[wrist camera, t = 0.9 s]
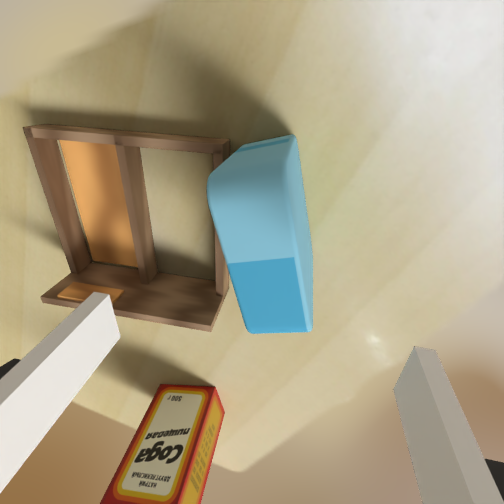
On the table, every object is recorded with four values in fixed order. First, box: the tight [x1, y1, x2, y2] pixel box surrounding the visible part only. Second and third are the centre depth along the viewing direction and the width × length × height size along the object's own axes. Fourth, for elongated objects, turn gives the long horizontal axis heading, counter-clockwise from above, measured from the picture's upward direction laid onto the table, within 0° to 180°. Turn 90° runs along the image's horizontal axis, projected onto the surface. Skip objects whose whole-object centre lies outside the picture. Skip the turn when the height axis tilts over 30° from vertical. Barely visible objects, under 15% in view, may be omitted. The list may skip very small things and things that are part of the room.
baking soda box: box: [100, 384, 225, 504], centre depth 40 cm, size 10×6×16 cm
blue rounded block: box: [207, 134, 313, 334], centre depth 22 cm, size 12×4×12 cm, turn 13°
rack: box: [23, 124, 230, 332], centre depth 28 cm, size 18×17×7 cm
